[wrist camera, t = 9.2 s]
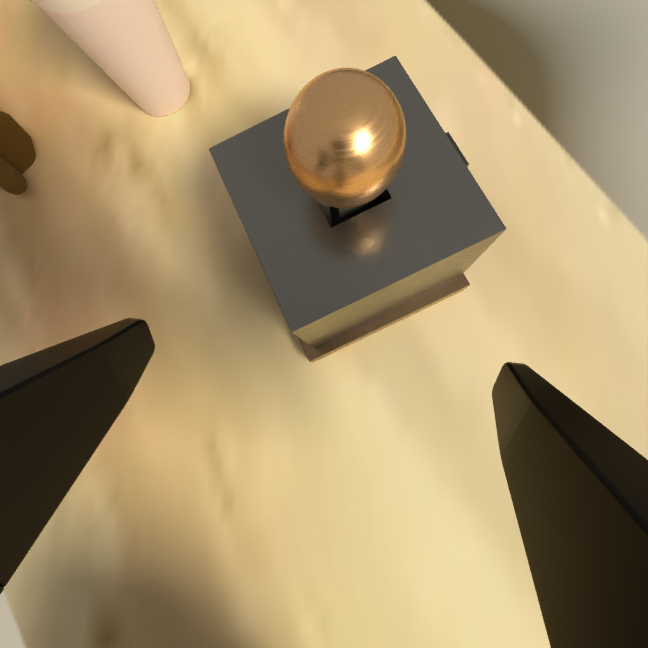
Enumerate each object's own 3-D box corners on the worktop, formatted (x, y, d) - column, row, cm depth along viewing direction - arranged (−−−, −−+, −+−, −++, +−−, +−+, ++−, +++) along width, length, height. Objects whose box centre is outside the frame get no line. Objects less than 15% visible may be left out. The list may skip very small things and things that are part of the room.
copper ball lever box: (312, 362, 18) (284, 352, 11) (249, 224, 20) (192, 144, 13) (468, 287, 18) (536, 230, 11) (390, 155, 19) (408, 36, 13)
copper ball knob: (324, 318, 17) (281, 244, 8) (278, 224, 18) (194, 59, 9) (427, 268, 17) (512, 131, 7) (375, 177, 18) (393, -42, 9)
